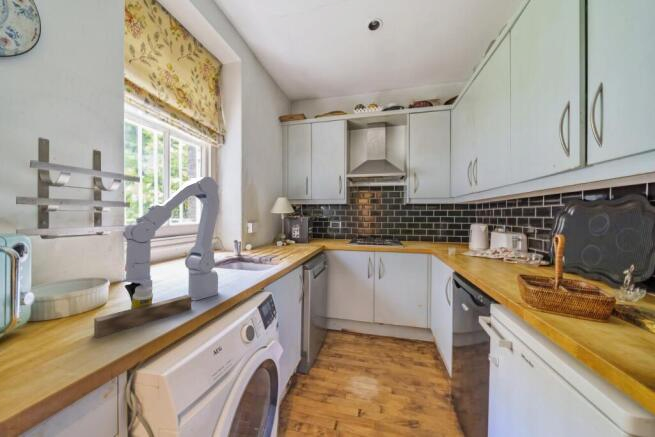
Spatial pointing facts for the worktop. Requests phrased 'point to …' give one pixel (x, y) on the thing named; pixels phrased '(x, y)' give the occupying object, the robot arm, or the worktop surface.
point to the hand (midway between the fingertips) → (137, 307)
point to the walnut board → (140, 315)
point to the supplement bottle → (142, 297)
